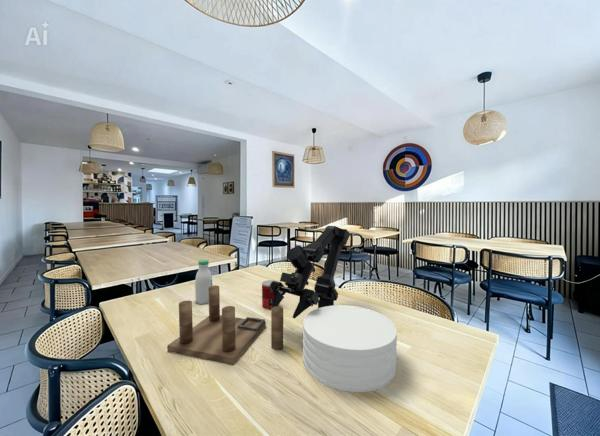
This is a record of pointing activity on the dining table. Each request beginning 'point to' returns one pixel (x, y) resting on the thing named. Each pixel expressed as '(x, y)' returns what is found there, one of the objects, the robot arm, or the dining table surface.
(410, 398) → the dining table surface
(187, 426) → the dining table surface
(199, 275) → the milk bottle
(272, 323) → the stool leg
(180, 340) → the peg board
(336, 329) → the plate stack
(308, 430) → the dining table surface
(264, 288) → the canned food
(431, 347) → the dining table surface
